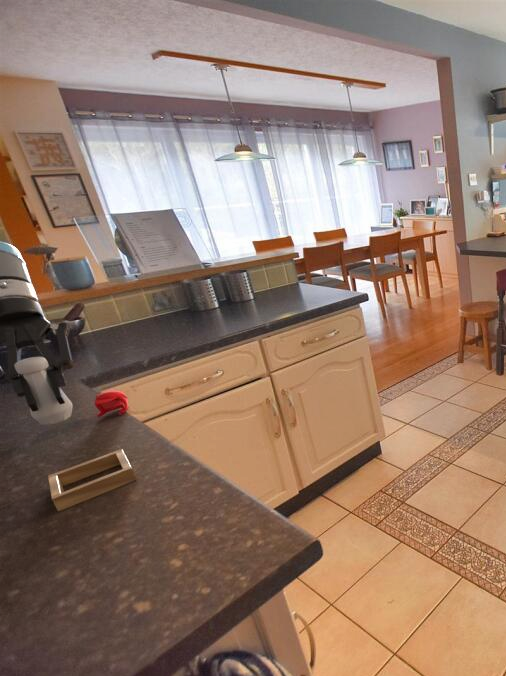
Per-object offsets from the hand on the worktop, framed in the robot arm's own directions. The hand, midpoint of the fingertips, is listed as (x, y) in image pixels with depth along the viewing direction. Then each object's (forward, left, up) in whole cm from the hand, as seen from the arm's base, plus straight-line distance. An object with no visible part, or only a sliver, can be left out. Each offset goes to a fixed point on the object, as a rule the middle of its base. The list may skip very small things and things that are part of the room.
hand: (47, 404), depth 82 cm
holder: (+13, -8, -12) cm, 20 cm away
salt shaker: (-3, +2, -5) cm, 6 cm away
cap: (-9, +18, -12) cm, 24 cm away
